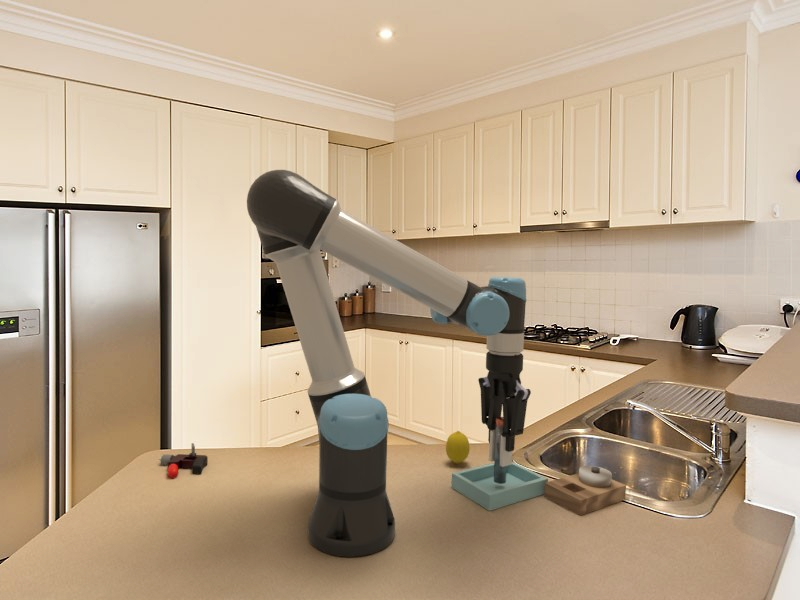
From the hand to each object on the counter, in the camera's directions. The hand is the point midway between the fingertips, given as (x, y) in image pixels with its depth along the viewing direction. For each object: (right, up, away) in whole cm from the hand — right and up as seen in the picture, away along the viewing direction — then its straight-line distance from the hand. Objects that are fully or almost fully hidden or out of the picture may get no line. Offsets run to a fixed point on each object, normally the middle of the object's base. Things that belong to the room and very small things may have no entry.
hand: (500, 462), depth 112 cm
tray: (0, -6, +1) cm, 6 cm away
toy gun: (-71, -4, +7) cm, 71 cm away
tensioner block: (+17, -7, -2) cm, 18 cm away
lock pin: (0, -4, 0) cm, 4 cm away
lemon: (-8, -5, +14) cm, 17 cm away
